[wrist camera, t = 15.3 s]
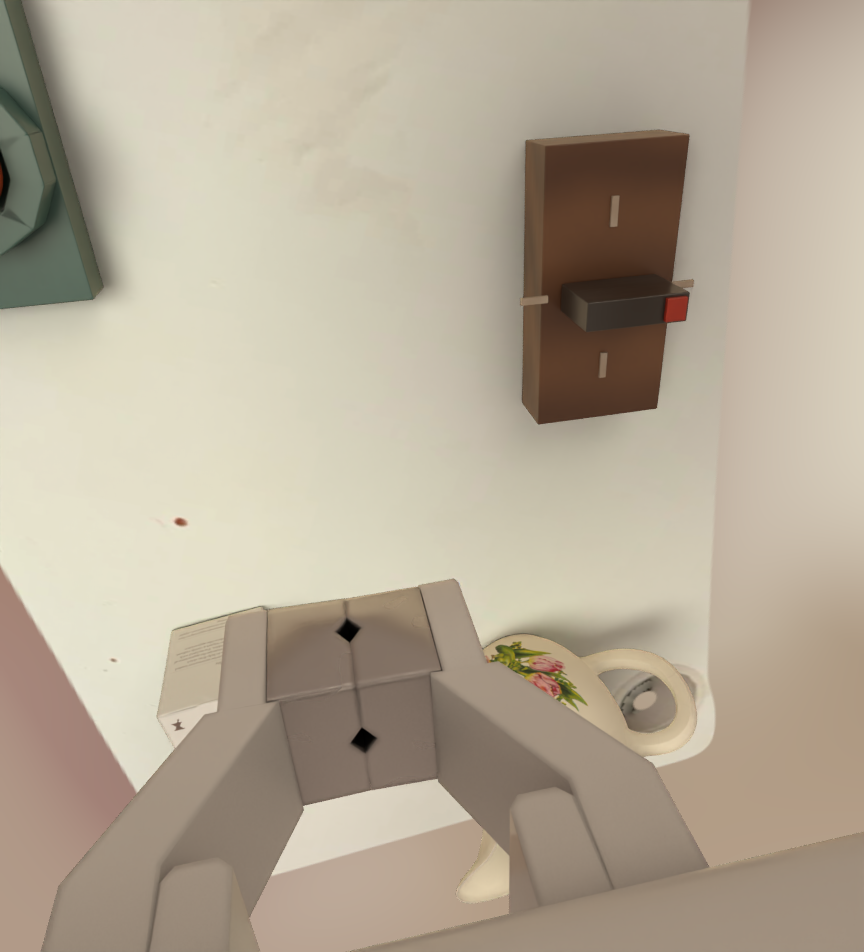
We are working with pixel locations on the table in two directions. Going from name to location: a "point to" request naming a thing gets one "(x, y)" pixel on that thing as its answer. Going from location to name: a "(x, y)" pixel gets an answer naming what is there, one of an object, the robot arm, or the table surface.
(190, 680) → the product carton
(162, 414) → the table surface
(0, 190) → the release button
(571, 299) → the dark brown box
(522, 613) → the table surface
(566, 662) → the pitcher
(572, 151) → the dial panel
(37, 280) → the button block
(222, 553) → the table surface
